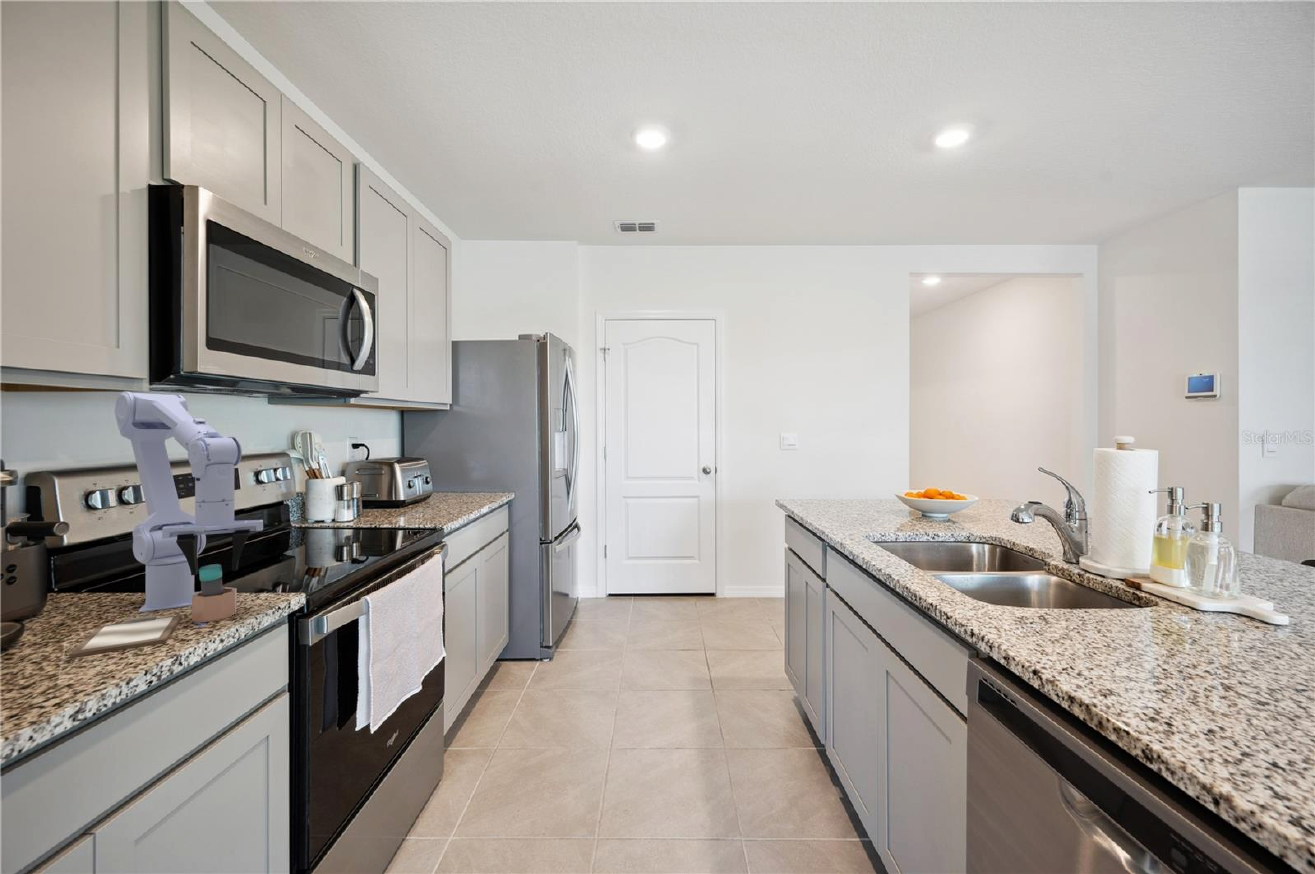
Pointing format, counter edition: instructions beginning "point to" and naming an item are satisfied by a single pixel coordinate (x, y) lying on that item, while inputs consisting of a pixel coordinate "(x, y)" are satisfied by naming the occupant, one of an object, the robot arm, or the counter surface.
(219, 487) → the robot arm
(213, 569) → the marker
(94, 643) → the picture frame
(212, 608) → the terracotta pot
